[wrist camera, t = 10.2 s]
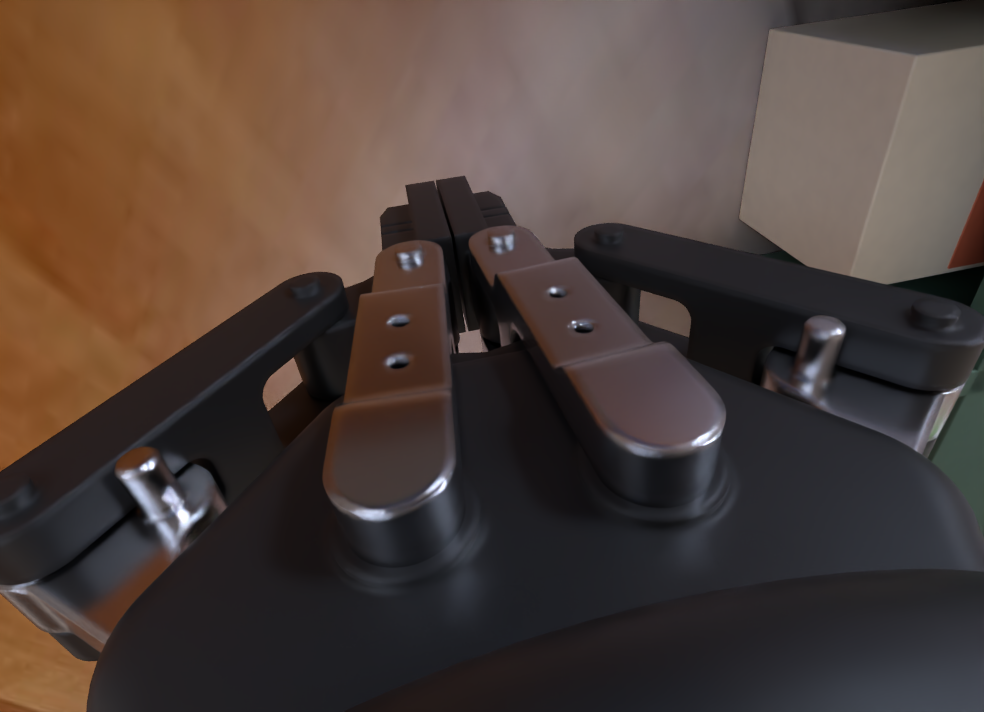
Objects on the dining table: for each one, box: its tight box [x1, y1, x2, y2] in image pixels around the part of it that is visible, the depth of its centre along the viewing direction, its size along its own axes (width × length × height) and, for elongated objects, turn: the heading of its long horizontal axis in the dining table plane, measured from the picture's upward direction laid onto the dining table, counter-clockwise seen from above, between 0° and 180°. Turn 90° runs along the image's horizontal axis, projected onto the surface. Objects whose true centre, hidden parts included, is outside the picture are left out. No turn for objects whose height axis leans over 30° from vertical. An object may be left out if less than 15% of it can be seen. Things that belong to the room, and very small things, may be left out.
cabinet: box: [760, 251, 984, 537], centre depth 20 cm, size 24×12×8 cm, turn 6°
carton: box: [739, 0, 984, 285], centre depth 18 cm, size 6×9×6 cm
